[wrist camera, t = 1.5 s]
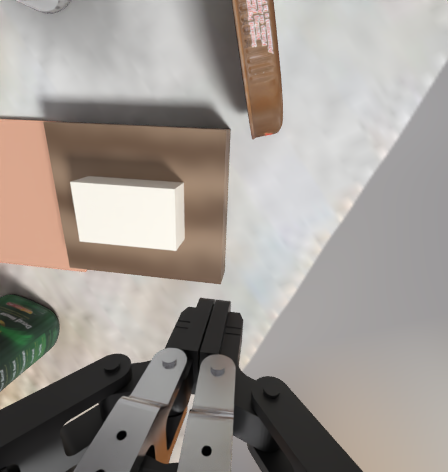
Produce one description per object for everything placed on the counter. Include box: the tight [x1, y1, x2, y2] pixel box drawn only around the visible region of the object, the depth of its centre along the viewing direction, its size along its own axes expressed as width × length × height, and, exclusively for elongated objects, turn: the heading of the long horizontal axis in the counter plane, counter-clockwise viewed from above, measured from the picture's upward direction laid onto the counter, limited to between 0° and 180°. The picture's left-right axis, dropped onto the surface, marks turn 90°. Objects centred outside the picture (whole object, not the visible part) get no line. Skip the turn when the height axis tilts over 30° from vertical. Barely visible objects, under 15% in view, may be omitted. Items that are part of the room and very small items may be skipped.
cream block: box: [70, 176, 185, 251], centre depth 29 cm, size 6×10×3 cm, turn 88°
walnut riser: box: [43, 122, 230, 284], centre depth 32 cm, size 16×18×3 cm
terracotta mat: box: [0, 119, 87, 272], centre depth 35 cm, size 18×14×1 cm
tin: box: [232, 0, 283, 139], centre depth 22 cm, size 15×3×8 cm, turn 10°
